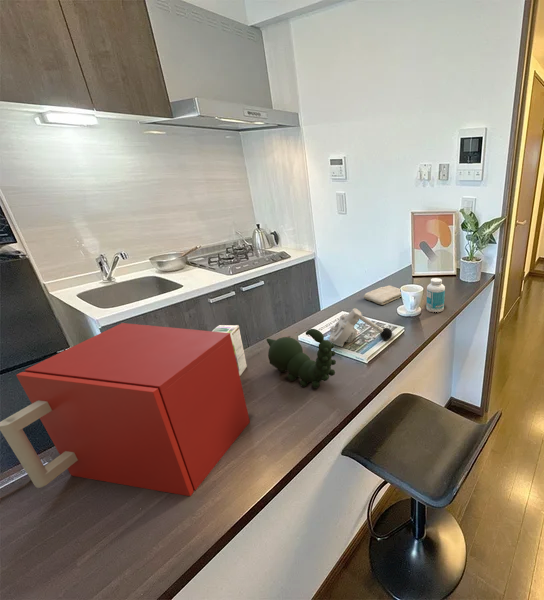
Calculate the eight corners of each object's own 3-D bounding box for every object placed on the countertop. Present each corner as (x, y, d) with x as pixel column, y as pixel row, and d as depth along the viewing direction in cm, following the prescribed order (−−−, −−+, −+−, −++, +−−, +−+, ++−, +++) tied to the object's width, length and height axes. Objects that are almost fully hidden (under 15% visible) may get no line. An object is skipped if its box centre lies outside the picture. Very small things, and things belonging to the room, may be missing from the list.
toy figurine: (342, 385, 94) (281, 354, 104) (342, 329, 85) (276, 301, 96) (319, 405, 86) (256, 369, 97) (317, 345, 78) (248, 313, 89)
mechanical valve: (327, 329, 115) (353, 299, 112) (366, 352, 123) (392, 324, 119) (326, 345, 106) (355, 313, 103) (368, 369, 114) (396, 340, 110)
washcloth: (408, 295, 153) (408, 289, 152) (382, 306, 141) (382, 300, 139) (389, 289, 160) (389, 283, 159) (363, 299, 148) (362, 293, 146)
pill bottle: (446, 308, 140) (448, 278, 135) (440, 314, 134) (442, 283, 129) (429, 304, 143) (431, 275, 138) (423, 311, 137) (424, 281, 132)
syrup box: (219, 378, 94) (208, 333, 88) (229, 366, 99) (219, 323, 93) (239, 378, 94) (229, 333, 88) (247, 366, 99) (239, 324, 94)
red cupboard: (195, 490, 62) (159, 386, 52) (77, 470, 65) (24, 369, 56) (250, 422, 78) (230, 332, 68) (153, 409, 82) (122, 322, 72)
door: (163, 529, 55) (116, 419, 46) (35, 504, 59) (-34, 398, 49) (194, 491, 61) (158, 388, 52) (76, 471, 65) (22, 371, 56)
